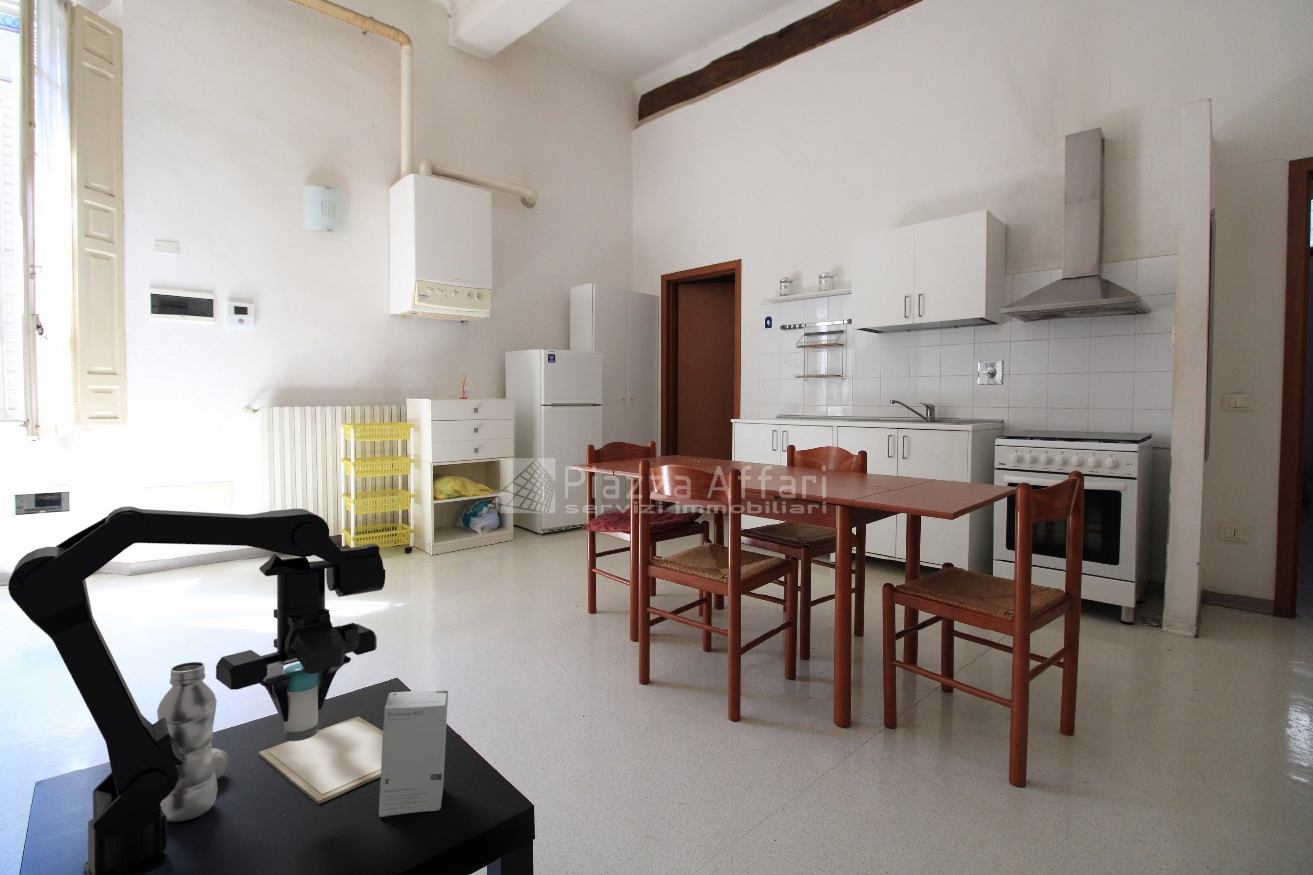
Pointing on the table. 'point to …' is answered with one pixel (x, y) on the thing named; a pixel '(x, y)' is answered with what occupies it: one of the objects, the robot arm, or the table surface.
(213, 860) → the table surface
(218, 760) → the garlic
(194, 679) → the plastic bottle
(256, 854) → the table surface
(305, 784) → the picture frame
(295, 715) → the cylinder
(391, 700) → the skincare box
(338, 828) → the table surface
